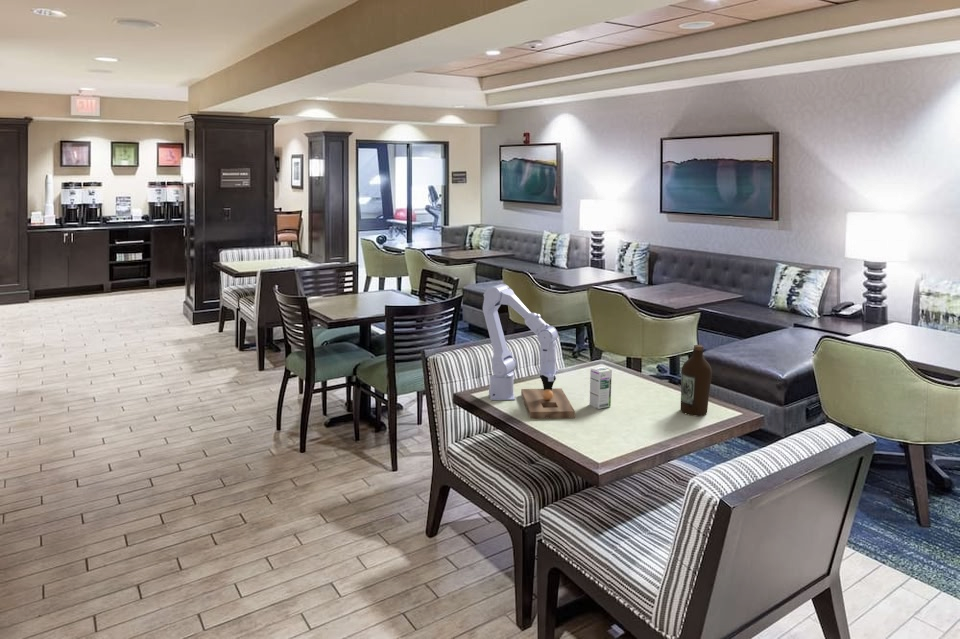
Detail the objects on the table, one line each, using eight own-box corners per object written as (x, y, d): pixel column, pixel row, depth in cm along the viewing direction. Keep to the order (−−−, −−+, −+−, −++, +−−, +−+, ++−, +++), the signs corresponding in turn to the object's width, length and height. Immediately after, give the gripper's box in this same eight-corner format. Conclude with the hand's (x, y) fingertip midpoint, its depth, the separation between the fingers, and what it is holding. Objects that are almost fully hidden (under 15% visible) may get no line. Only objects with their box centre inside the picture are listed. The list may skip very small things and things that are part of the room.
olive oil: (694, 405, 255) (699, 341, 250) (715, 414, 246) (720, 347, 240) (672, 409, 251) (676, 343, 245) (692, 418, 241) (697, 350, 236)
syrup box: (598, 409, 250) (600, 371, 247) (588, 404, 255) (590, 367, 252) (610, 407, 253) (612, 369, 249) (601, 402, 258) (602, 365, 255)
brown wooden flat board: (530, 418, 240) (530, 412, 240) (521, 395, 266) (521, 389, 265) (574, 417, 241) (574, 411, 241) (561, 394, 267) (561, 388, 266)
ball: (540, 391, 255) (542, 401, 253) (542, 388, 251) (544, 398, 250) (550, 390, 255) (552, 400, 254) (552, 387, 252) (554, 397, 250)
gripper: (562, 364, 244) (561, 400, 247) (554, 354, 259) (554, 387, 261) (542, 365, 244) (542, 400, 247) (536, 354, 258) (536, 388, 261)
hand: (547, 394), depth 254 cm, fingers closed, pressing on ball
